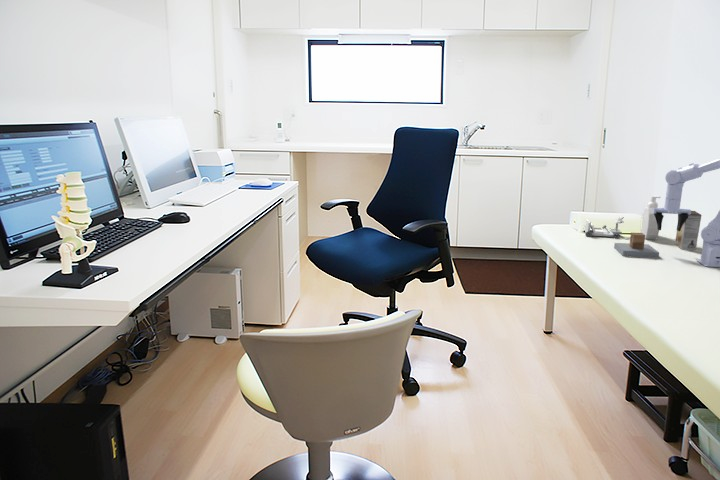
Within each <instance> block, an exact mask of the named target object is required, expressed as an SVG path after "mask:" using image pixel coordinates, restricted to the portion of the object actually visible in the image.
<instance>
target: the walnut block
mask: <svg viewBox="0 0 720 480" xmlns="http://www.w3.org/2000/svg"><path fill="white" fill-rule="evenodd" d="M629 238H630V239H629V244H630V245H629V246H630V247H631V248H633V249H644V244H645V241H646V239H645V235H644V234H643V233H641V232H633V231H632V232H631V231H630V237H629Z"/></svg>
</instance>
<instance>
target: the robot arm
mask: <svg viewBox="0 0 720 480" xmlns="http://www.w3.org/2000/svg"><path fill="white" fill-rule="evenodd" d="M719 169H720V158H717V159H714V160H712V161H709V162H706V163H703V164H698V163H689V164H688V166H684V167H678V169H677V170H674V169H673V170H672V169H671V170H670V171H668V172H667V173H666V175H665V178H664V179H665V182H666V183H667V186H666V193H665V199H664V206H663V207H658V208H653V210H652V213H654V215H655V218H656V221H657V228H658V230H659V231H661V230H662V224H663V219H664V216H665V215H664V214H670V215H671V214H673V215H674V214H676V215H677V224H676V225H677V226H676V232H677V231H680V230H681V228H682V226H683V224H684V222H685V221H686V219H687V218H688V215H690V214H691V211H692V210H691V209H687V208H686V209H685V208H681V203H682V195H683V194H682V193H683V187H684V185H685V183H686V182H688V181H689V182H690V181H694V180H695V179H699V178H701V177H702V176H703V174H704V173H708V172H709V173H710V172H712V171H715V170H716V171H717V170H719ZM700 237H701V239H702V240H703V242H702V246H701V247H702V250H701V255H700V258H699V259H698V258H697V259H696V261H697V262H698V263H700V264H702V265H703V266H704V267H709V268H711V267H713V268H714V267H715V268H720V210H718V212H717V214H716V216H715V217H714V218H713V219H712V220H711V221H710V222H708V224H707V226H705V227H703V228H702V229H701V231H700Z"/></svg>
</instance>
